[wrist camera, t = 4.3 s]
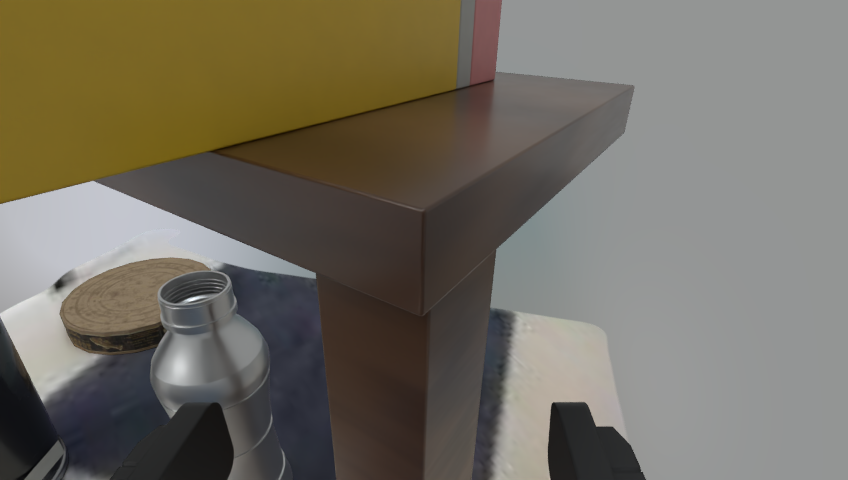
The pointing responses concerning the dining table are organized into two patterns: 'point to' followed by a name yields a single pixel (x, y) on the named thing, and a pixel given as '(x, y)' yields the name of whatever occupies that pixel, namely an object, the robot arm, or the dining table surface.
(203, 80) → the pencil
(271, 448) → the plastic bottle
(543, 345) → the dining table surface
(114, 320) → the brown flat round disc
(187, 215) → the shelf stand
